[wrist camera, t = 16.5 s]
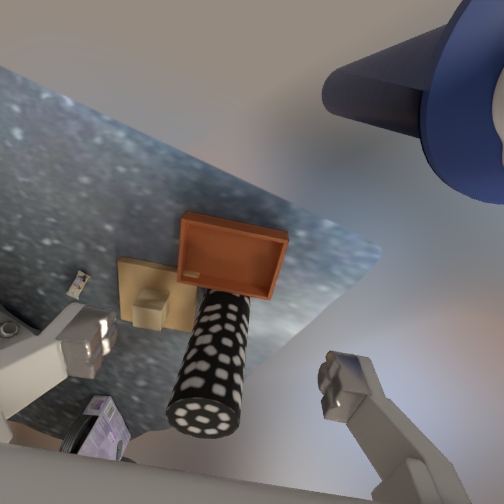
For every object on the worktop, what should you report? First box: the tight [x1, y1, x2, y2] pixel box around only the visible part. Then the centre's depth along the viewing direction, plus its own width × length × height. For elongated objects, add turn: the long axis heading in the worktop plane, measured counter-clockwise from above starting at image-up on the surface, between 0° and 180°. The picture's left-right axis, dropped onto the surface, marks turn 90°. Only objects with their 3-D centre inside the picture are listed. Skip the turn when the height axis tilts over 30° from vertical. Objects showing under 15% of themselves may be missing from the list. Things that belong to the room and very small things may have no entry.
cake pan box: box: [58, 395, 131, 461], centre depth 61 cm, size 19×5×18 cm, turn 3°
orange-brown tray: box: [177, 211, 289, 300], centre depth 41 cm, size 15×11×3 cm
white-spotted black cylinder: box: [166, 289, 250, 439], centre depth 39 cm, size 8×8×20 cm
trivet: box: [117, 257, 200, 332], centre depth 47 cm, size 13×13×2 cm
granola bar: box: [65, 271, 91, 300], centre depth 46 cm, size 7×2×1 cm, turn 142°
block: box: [132, 288, 171, 331], centre depth 44 cm, size 4×4×4 cm
